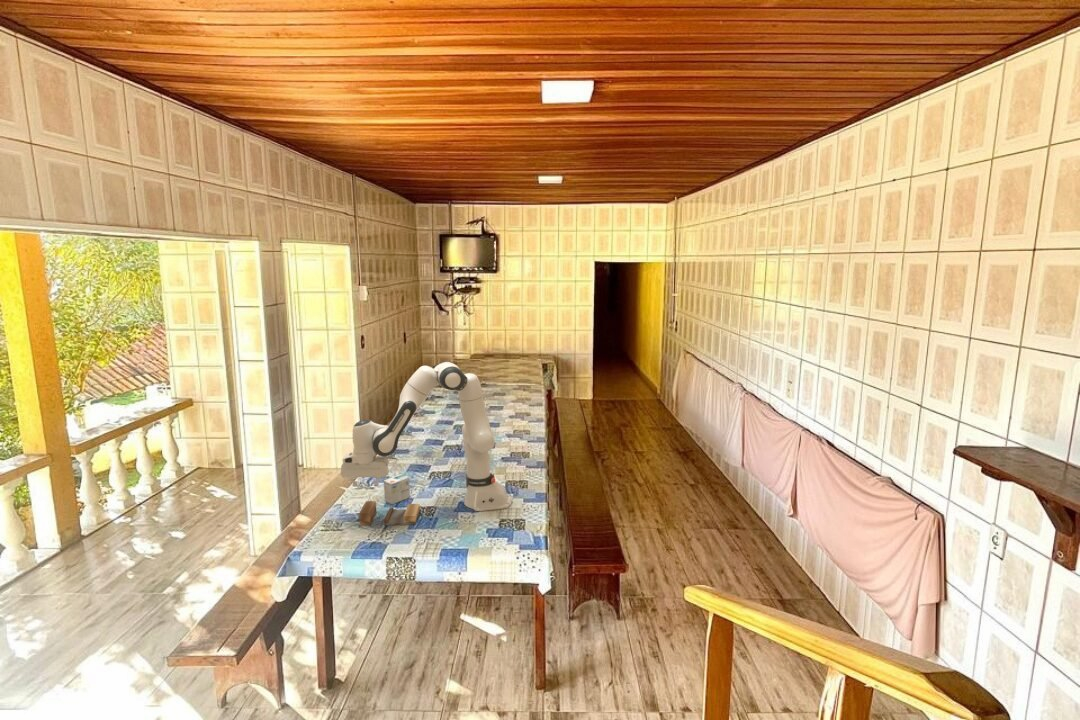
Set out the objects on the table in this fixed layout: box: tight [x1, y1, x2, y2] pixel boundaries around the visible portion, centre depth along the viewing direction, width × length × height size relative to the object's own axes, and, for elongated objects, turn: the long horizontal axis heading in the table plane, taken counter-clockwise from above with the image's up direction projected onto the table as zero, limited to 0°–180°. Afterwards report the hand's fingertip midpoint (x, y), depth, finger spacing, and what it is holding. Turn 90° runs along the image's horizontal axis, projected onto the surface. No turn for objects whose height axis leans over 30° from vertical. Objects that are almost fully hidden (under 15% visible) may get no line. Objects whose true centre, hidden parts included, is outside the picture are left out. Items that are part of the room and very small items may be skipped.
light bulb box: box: [383, 473, 411, 505], centre depth 269 cm, size 11×7×11 cm, turn 141°
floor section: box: [383, 503, 421, 527], centre depth 250 cm, size 14×13×4 cm
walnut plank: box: [358, 500, 377, 527], centre depth 249 cm, size 4×12×6 cm, turn 4°
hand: (365, 486), depth 246 cm, fingers open, 8 cm apart
